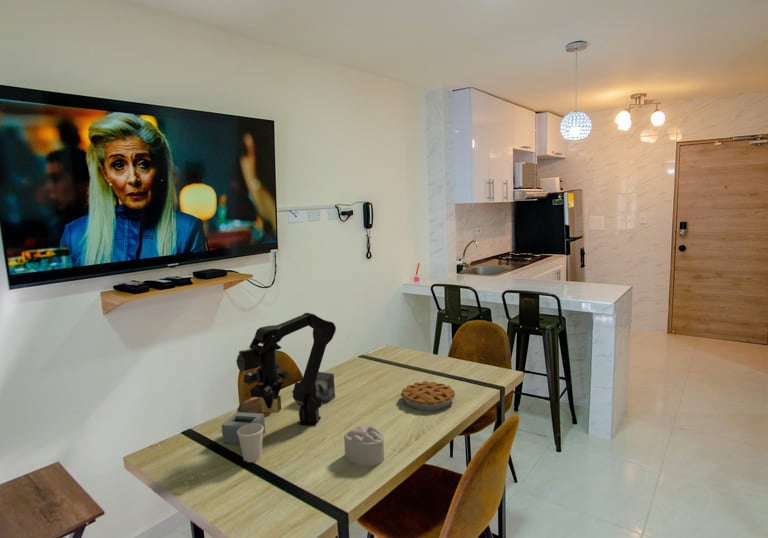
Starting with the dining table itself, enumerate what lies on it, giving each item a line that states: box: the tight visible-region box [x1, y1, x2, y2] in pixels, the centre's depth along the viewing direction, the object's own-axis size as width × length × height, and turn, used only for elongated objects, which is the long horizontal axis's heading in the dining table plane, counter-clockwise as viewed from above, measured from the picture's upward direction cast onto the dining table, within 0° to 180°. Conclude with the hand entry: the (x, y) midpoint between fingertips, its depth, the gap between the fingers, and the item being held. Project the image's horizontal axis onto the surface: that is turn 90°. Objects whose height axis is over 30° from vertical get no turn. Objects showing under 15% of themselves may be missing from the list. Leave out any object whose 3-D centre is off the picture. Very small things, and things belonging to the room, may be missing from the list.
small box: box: [315, 371, 336, 403], centre depth 199 cm, size 11×6×10 cm, turn 68°
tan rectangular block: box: [261, 395, 282, 414], centre depth 166 cm, size 6×3×5 cm, turn 79°
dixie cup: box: [237, 423, 264, 463], centre depth 154 cm, size 8×8×10 cm
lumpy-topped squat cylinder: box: [343, 425, 385, 467], centre depth 153 cm, size 10×13×9 cm
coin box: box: [221, 411, 266, 446], centre depth 168 cm, size 11×10×7 cm
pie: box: [400, 381, 456, 412], centre depth 193 cm, size 22×22×5 cm
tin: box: [236, 397, 273, 418], centre depth 183 cm, size 15×3×8 cm, turn 134°
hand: (271, 406), depth 167 cm, fingers closed on tan rectangular block, 3 cm apart
